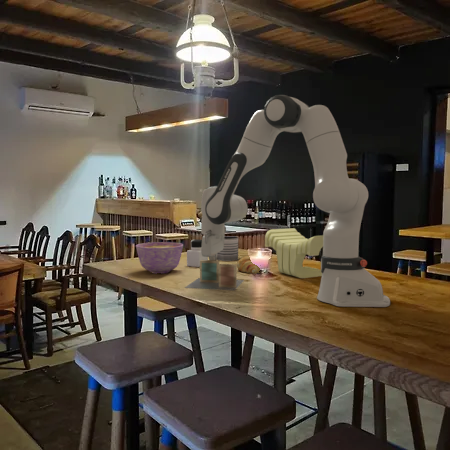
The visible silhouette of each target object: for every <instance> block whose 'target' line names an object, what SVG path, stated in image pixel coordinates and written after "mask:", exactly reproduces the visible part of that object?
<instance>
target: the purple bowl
mask: <svg viewBox="0 0 450 450" xmlns="http://www.w3.org/2000/svg"><path fill="white" fill-rule="evenodd" d="M135 248H136V252H137V256H138V260H139V263H140V265H141V267H142V268H143V269H144V270H146V271H148V272H150V273H151V272H152V274H157V273H161V274H167V273H170V272H171V271H173V270H175V269H176V268H177V267H178V266H179V265H180V261H181V257H182V252H183V248H184V244H183V243H180V242H171V241H170V242H169V241H168V242H167V241H166V242H165V241H163V242H161V241H160V242H157V241H156V242H145V243H138V244H136V245H135Z"/></svg>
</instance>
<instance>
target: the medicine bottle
mask: <svg viewBox="0 0 450 450" xmlns="http://www.w3.org/2000/svg"><path fill="white" fill-rule="evenodd" d="M201 249H202V239H192V240H191V241H190V249H189V250H187V251H186V266H187V267H192V268H193V267H194V268H200V260H209V257H204V256H202V253H201Z"/></svg>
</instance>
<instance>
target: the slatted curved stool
mask: <svg viewBox="0 0 450 450" xmlns="http://www.w3.org/2000/svg"><path fill="white" fill-rule="evenodd" d="M265 247H266V248H268V247H269V248H272V249H273V250H274V251H275V253H276V254H275V255H276V260H277V269H278V272H279V273H280V274H284V275H288V276H291V277H292V276H293V277H295V278H300V279H306V278H308V279H309V278H317V277H322V272H321V269H319V268H315V267H311V266H303V265H304V264H303V263H304V260H305V258H306V256H307V255H308V256H309V257H313V256H319V255H320V251H321V249H323V234H322V235H314V236H312V237H310V238H306V237H305V236H304V235H302V234H301V232H298V230H297V229H296V228H295V227H293V228H273V229H269V230H267V232H266V233H265V236H264V248H265Z"/></svg>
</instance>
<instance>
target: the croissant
mask: <svg viewBox="0 0 450 450" xmlns="http://www.w3.org/2000/svg"><path fill="white" fill-rule="evenodd" d="M249 256H250V255H245V256H243V257H240V259H238V261H237V269H238V270H239V271H240V272H242V273H245V274H253V275H257V273H258V274H259V273H260V272H261V271H260V268H259V267H258V266H257V265H255V264H253V263H252V262H251V260H250V257H249ZM259 271H260V272H259Z"/></svg>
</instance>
